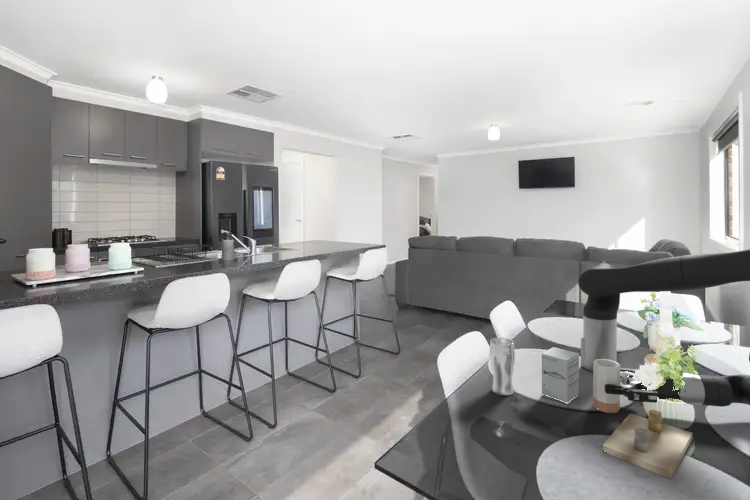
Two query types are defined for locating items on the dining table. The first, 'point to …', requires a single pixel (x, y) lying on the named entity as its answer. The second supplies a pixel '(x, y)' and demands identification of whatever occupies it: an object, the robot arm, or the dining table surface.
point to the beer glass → (502, 365)
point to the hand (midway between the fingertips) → (601, 381)
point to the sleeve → (602, 375)
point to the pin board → (649, 443)
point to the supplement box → (560, 374)
